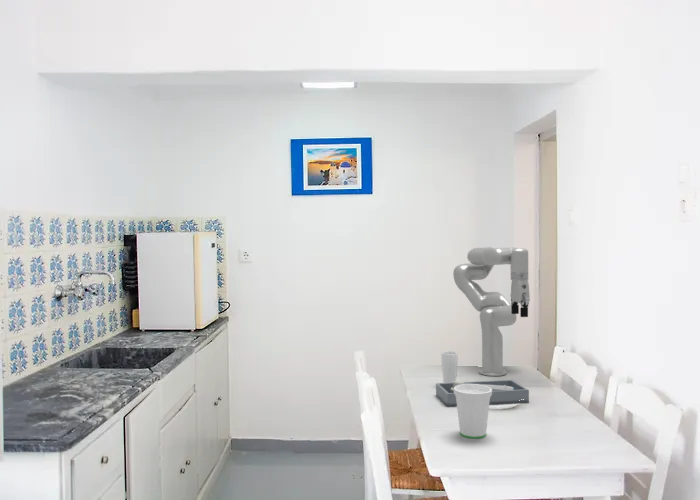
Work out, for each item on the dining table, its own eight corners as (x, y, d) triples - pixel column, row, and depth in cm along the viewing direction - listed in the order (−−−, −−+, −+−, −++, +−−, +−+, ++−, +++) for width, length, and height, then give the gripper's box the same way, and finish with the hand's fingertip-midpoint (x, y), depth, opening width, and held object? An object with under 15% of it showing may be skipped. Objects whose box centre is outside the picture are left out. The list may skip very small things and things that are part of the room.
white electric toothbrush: (515, 388, 233) (453, 380, 233) (513, 404, 233) (451, 396, 233) (512, 384, 238) (451, 377, 238) (509, 400, 239) (448, 393, 239)
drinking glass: (440, 388, 253) (440, 353, 253) (443, 384, 260) (443, 350, 259) (455, 389, 251) (455, 354, 250) (459, 385, 257) (458, 351, 257)
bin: (436, 395, 242) (435, 383, 242) (512, 391, 246) (512, 379, 246) (447, 406, 226) (447, 393, 226) (528, 402, 231) (528, 389, 230)
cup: (484, 443, 187) (484, 395, 187) (448, 436, 194) (447, 390, 193) (497, 431, 198) (497, 386, 197) (462, 425, 204) (461, 382, 204)
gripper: (536, 277, 250) (536, 318, 250) (519, 275, 267) (519, 312, 267) (519, 278, 249) (519, 318, 249) (503, 275, 266) (503, 312, 267)
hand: (519, 315), depth 258 cm, fingers open, 9 cm apart
